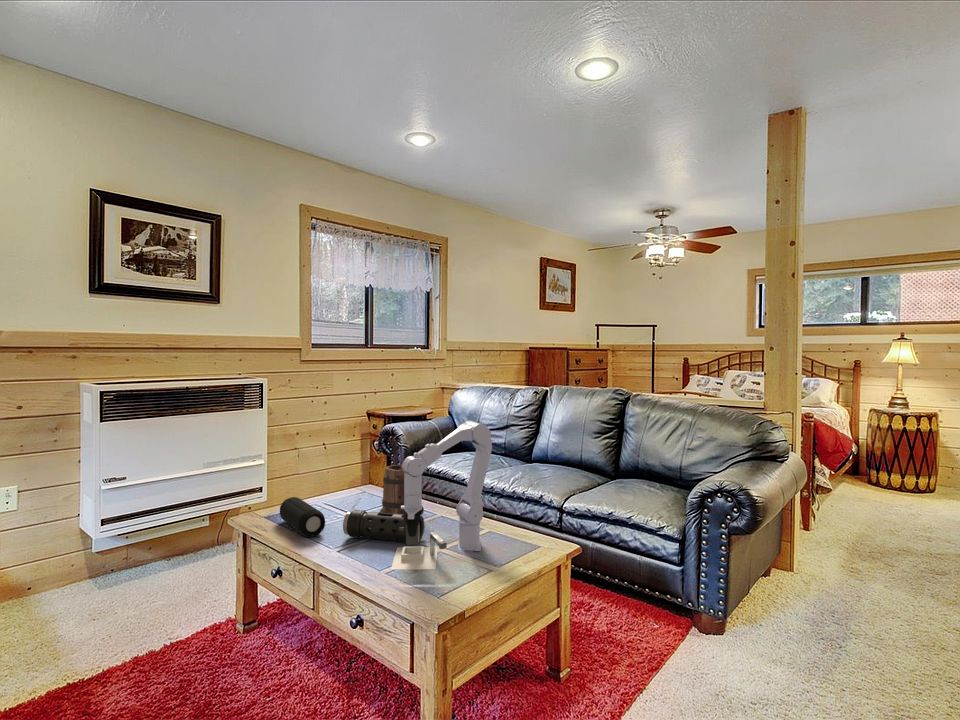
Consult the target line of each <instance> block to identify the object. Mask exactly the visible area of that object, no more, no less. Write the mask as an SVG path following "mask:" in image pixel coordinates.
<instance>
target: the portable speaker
mask: <svg viewBox="0 0 960 720" xmlns="http://www.w3.org/2000/svg"><path fill="white" fill-rule="evenodd" d="M279 515H280V518H281V519H282V520H283V521H284V522H285V523H287V524H288V525H289V526H290V527H292V528H293V529H295V530H296V531H297V532H298V533H300V534H301V535H303V536H304V537H306V538H310V537H315V536H316V537H317V536H318V535H319V534H321V533H322V532H323V531H324V530H325V527H326V518H325V515H324V513H323V512H322V511H320V510H318V509H317V508H316V507H314V506H312V505H311V504H309V503H307V501H304V500H303V499H301V498H299V497H296V496H291V497H288V498H286V499H285V500H283V501H282V503H281V504H280V507H279Z"/></svg>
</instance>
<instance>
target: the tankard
mask: <svg viewBox="0 0 960 720" xmlns="http://www.w3.org/2000/svg"><path fill="white" fill-rule="evenodd" d="M382 481H383V488H382V490H383V491H382V500H381V508H380V510H379V513H392V514H405V515H407V514H406V512H405V510H404V509H401V506H402V505H404V471H403V469H402V464H393V465H388V466H386V467H385V469H384V475H383V478H382ZM424 509H425V508H424V506H423V505H422V512H421V514H420V516H422V515H423V513H424V511H425V510H424Z"/></svg>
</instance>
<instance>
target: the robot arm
mask: <svg viewBox="0 0 960 720" xmlns="http://www.w3.org/2000/svg"><path fill="white" fill-rule="evenodd" d="M491 435H492V431H491V430H490V428H489V427H488V426H487V425H486V424H484V423H480V422H477V421H474V420H467V421H465V422H464V423H462V424H460V425H459V426H458V427H457V428H456V429H455V430H453V431H452V432H450V433H449V434H448V435H446V436H445V437H444V438H443V439H441V440H440V441H439V442H437V443H427V444H425V445H424V448H422V449H420V450H419V451H418V452H414V453H413V455H409V456H407V457H406V458H404V461H402V464H401V465H402V469H403V471H404V505H402V506H401V509H404V510H405V512H406V514H407V515H404V516H403V518H404V520H405V522H406V525H407V529H408V534H409V537H415V536H416V532H417V525H418V522H419V520H420V518H421V516H422V515H420V514H421V512H422V506H423V505H422V504H423V503H422V501H423V500H422V498H423V497H422V496H423V495H422V493H423V492H422V487H423V486H422V485H423V484H422V480H423V479H422V475H423V473H424V471H425V469H426V468H427V467H429V466H430V465H432V464H433V463H435V462H436V461H437V460H439V459H441V457H442V454H443V452H445V451H447V450H448V449H450V448H452V447H454V446H455V445H457V444H459V443H460V442H462V441H463V442H471V443H472V445H473V446H474V448H475V454H474V457H473V462H472V466H471V470H470V473H469V478H468V482H467V486H466V490H465V493H464V494H463V495H461V498H460V500H459V502H458V504H457V505H456V509H455V510H456V511H455V512H456V514H457V516H459V520H458V521H459V523H458V525H459V526H458V540H457V551H472V552H481V551H482V546H481V545H482V544H481V540H480V539H481V538H480V536H481V535H480V531H481V529H480V528H481V525H480V524H481V521H482V520H483V518H484V511H483V507H484V503H483V499H482V493H483V489H484V484H485V481H486V477H487V471H488V468H489V464H490V463H489V462H490V459H491V455H492V451H493V443H492V437H491Z"/></svg>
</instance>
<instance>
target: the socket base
mask: <svg viewBox="0 0 960 720" xmlns="http://www.w3.org/2000/svg"><path fill="white" fill-rule="evenodd" d="M438 549H439V546H435V555H434V556H430V546H424V545H423V546H422V545H421V546H419V545H418V546H415V545H414V546H400V547H399V546H398V547H396V551H395V554H394V557H393V561H392V564H391V567H390V570H392V571H393V570H394V571H395V570H396V571H397V570H402V571H403V570H405V571H406V570H436V568H437V558H438Z"/></svg>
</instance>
